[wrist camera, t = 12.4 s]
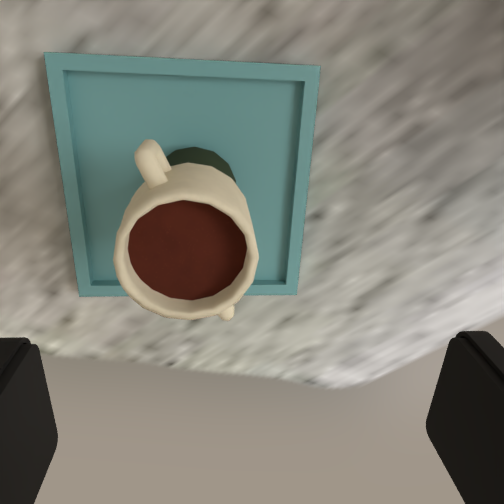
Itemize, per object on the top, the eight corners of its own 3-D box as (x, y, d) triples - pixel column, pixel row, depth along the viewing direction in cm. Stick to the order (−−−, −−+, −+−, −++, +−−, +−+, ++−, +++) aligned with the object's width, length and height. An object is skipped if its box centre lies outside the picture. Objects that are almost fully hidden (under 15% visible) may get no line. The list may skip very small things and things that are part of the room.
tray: (315, 65, 30) (320, 65, 28) (293, 286, 37) (296, 294, 36) (51, 52, 28) (43, 51, 27) (84, 287, 35) (79, 296, 34)
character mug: (116, 137, 30) (57, 190, 18) (207, 97, 29) (206, 124, 18) (184, 261, 35) (171, 366, 23) (263, 228, 34) (292, 319, 22)
